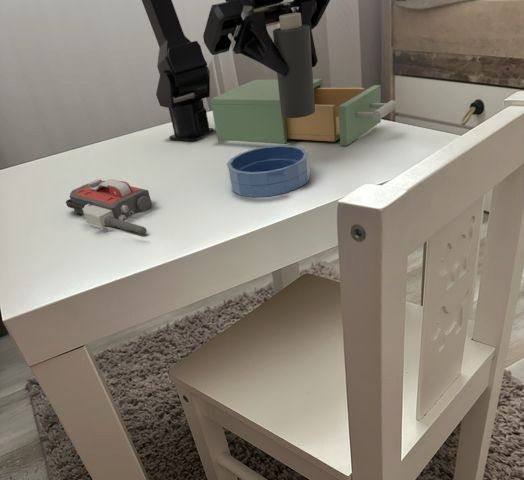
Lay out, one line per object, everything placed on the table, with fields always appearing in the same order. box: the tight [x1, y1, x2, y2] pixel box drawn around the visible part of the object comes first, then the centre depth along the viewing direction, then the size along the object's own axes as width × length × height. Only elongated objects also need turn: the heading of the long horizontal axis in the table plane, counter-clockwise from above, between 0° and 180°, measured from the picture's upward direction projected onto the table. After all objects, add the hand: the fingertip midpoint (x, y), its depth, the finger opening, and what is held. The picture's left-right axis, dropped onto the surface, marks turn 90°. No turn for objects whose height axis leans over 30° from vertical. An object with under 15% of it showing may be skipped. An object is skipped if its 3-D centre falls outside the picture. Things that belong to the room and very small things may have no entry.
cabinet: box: [209, 78, 324, 145], centre depth 94 cm, size 15×14×8 cm
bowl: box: [226, 144, 311, 198], centre depth 74 cm, size 11×11×4 cm
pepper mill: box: [272, 13, 315, 118], centre depth 71 cm, size 5×5×12 cm
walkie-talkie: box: [65, 178, 153, 234], centre depth 72 cm, size 9×4×20 cm
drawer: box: [285, 84, 397, 147], centre depth 87 cm, size 18×12×6 cm
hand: (300, 68), depth 70 cm, fingers closed on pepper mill, 5 cm apart
